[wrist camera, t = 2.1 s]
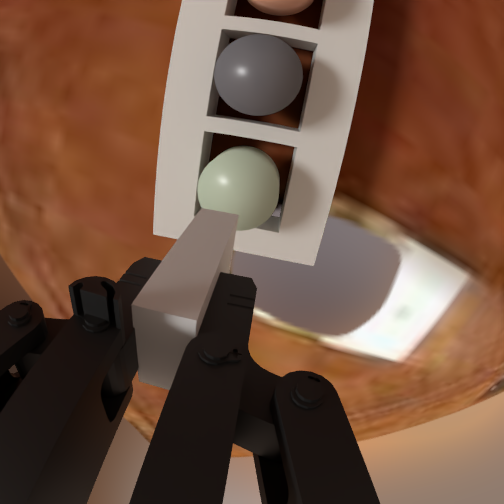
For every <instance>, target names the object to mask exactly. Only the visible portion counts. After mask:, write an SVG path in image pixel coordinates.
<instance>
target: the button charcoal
mask: <svg viewBox="0 0 504 504" xmlns="http://www.w3.org/2000/svg"><path fill="white" fill-rule="evenodd" d="M214 80H215V85H216V88H217V90H218V92H219V94H220V96H221V97H222V99H223V100H224V101H225V102H226V103H227V104H228V105H229V106H230V107H232V108H233V109H235V110H237V111H239V112H241V113H244V114H248V115H254V116H263V115H269V114H273V113H276V112H278V111H280V110H282V109H284V108H285V107H286V106H288V105H289V104H290V103H291V102H292V101H293V100H294V99H295V97H296V96H297V94H298V93H299V90H300V88H301V85H302V80H303V70H302V65H301V62H300V59H299V57H298V56H297V54H296V53H295V51H294V50H293V49H292V48H291V47H290V46H289V45H288V44H287V43H285V42H284V41H282V40H280V39H278V38H276V37H273V36H269V35H263V34H253V35H248V36H244V37H241V38H239V39H237V40H235V41H233V42H232V43H231V44H229V45H228V46H227V47H226V48H225V49H224V50H223V51H222V53H221V54H220V56H219V58H218V60H217V62H216V66H215V71H214Z"/></svg>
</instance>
